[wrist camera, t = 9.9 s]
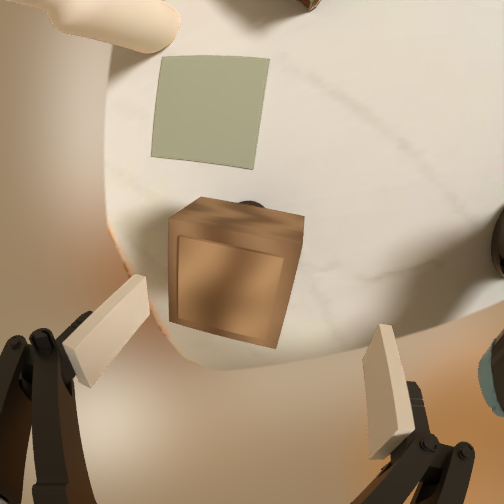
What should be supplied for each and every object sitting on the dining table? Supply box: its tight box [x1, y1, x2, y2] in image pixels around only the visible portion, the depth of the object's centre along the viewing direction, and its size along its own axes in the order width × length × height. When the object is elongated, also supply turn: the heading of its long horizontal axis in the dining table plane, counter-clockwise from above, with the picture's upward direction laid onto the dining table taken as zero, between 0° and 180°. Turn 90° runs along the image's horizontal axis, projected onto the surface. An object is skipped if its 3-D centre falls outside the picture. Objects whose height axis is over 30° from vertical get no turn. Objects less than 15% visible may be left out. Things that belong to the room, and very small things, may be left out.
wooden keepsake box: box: [168, 197, 304, 349], centre depth 29 cm, size 12×12×8 cm
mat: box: [151, 55, 270, 169], centre depth 36 cm, size 16×16×1 cm
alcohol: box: [6, 0, 180, 54], centre depth 18 cm, size 9×9×30 cm
